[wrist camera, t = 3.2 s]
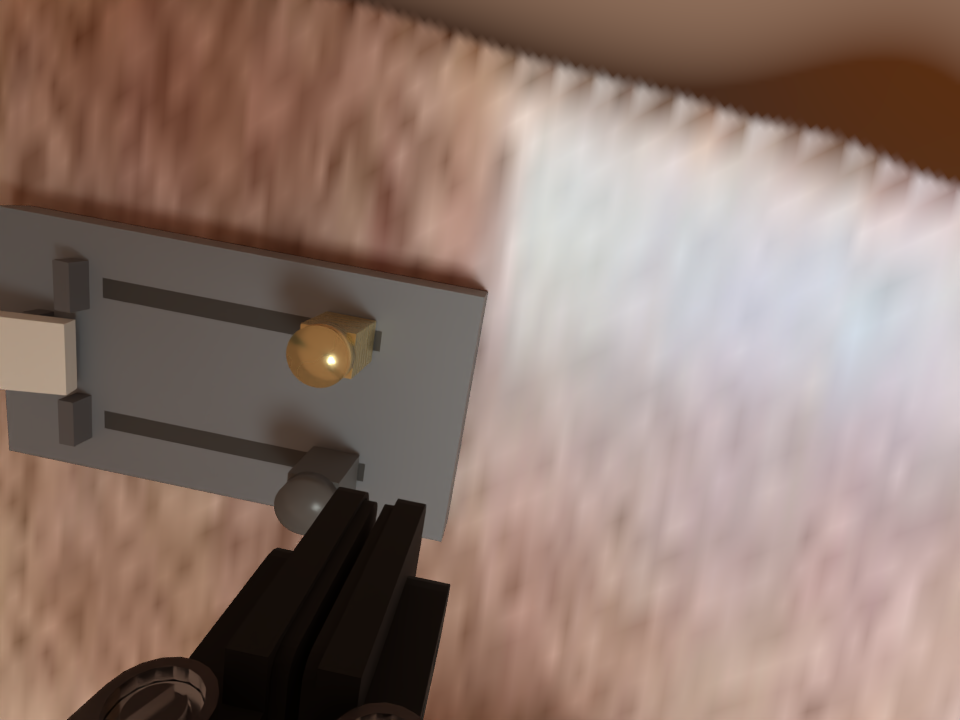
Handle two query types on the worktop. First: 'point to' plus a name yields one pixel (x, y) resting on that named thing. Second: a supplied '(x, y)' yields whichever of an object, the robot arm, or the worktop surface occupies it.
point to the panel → (235, 362)
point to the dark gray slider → (313, 486)
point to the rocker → (37, 353)
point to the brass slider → (330, 348)
